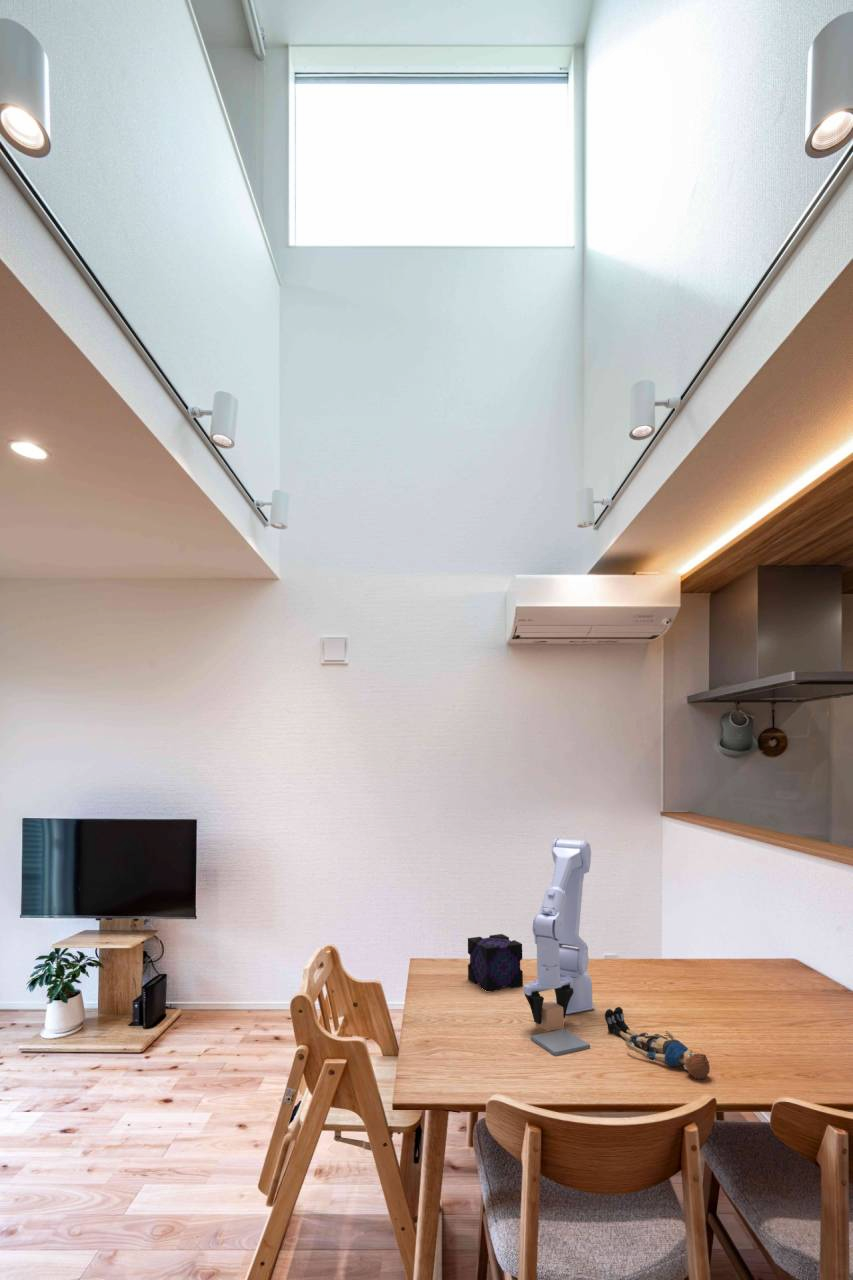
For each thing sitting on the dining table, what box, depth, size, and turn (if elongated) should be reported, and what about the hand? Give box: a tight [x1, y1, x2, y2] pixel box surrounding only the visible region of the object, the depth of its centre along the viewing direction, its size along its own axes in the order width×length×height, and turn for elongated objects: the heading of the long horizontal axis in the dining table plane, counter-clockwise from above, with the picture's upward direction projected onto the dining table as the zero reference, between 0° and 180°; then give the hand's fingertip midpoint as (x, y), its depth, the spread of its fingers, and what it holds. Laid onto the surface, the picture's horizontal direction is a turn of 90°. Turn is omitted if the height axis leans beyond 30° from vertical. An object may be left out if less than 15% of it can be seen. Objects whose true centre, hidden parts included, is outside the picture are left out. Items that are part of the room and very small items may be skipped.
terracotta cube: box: [535, 1000, 565, 1032], centre depth 181 cm, size 5×5×5 cm
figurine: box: [604, 1006, 711, 1080], centre depth 165 cm, size 13×6×30 cm
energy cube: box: [467, 933, 524, 992], centre depth 213 cm, size 12×12×12 cm
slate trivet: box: [530, 1028, 591, 1057], centre depth 170 cm, size 10×10×1 cm
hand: (549, 1019), depth 181 cm, fingers open, 7 cm apart
